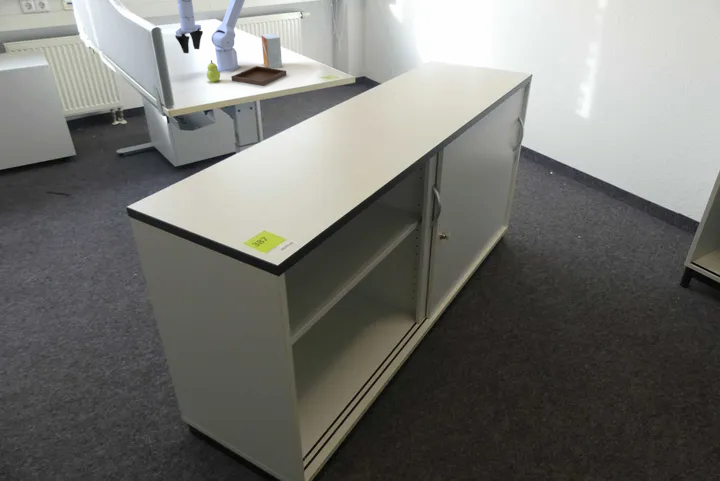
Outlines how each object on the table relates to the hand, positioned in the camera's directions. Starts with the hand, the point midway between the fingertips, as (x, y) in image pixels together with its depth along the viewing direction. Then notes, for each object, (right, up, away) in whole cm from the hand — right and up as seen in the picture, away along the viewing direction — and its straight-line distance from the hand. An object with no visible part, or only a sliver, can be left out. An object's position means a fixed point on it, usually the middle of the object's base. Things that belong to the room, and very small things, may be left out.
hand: (191, 51), depth 232 cm
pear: (+10, -14, -2) cm, 17 cm away
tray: (+28, -11, +2) cm, 30 cm away
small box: (+31, 0, +19) cm, 37 cm away
